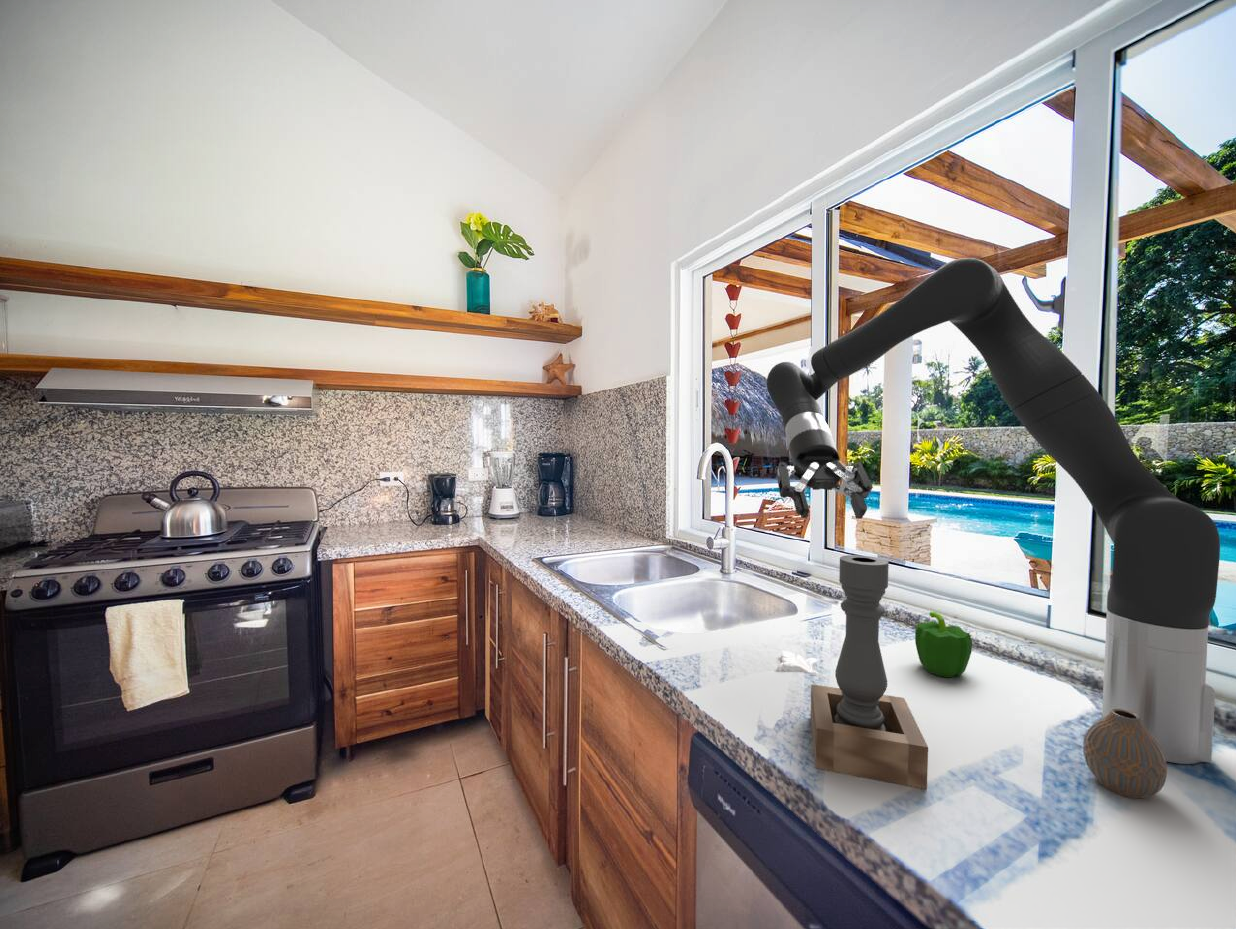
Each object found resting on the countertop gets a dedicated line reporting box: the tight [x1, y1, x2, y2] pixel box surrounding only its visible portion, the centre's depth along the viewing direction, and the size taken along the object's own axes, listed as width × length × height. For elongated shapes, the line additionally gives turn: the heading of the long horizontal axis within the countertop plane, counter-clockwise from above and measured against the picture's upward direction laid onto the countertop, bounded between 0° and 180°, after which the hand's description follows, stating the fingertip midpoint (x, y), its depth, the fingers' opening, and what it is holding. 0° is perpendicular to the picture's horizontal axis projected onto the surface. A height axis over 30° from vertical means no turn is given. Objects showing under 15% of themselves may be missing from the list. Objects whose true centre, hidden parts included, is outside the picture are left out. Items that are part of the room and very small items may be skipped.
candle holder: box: [834, 554, 890, 731], centre depth 65 cm, size 6×6×25 cm
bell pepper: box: [914, 611, 973, 678], centre depth 89 cm, size 8×8×10 cm
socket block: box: [809, 683, 929, 790], centre depth 65 cm, size 12×12×5 cm
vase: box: [1082, 709, 1168, 799], centre depth 59 cm, size 7×7×9 cm
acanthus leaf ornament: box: [777, 650, 820, 677], centre depth 91 cm, size 8×7×2 cm
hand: (833, 515), depth 79 cm, fingers open, 8 cm apart
